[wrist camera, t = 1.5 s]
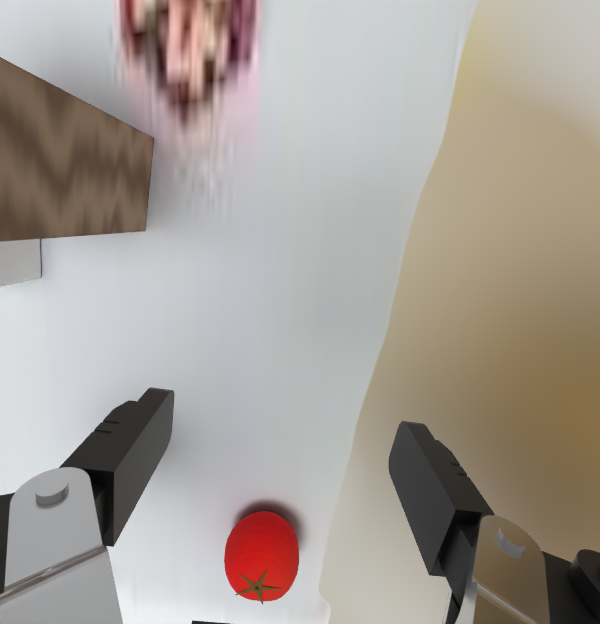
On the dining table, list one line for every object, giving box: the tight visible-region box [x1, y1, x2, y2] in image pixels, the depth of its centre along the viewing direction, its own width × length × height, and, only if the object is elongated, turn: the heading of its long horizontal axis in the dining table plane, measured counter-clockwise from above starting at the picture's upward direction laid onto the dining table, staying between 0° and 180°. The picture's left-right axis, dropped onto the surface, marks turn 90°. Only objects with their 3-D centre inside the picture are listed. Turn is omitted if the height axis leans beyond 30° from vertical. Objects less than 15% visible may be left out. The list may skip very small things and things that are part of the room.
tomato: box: [224, 511, 299, 604], centre depth 54 cm, size 14×13×10 cm
